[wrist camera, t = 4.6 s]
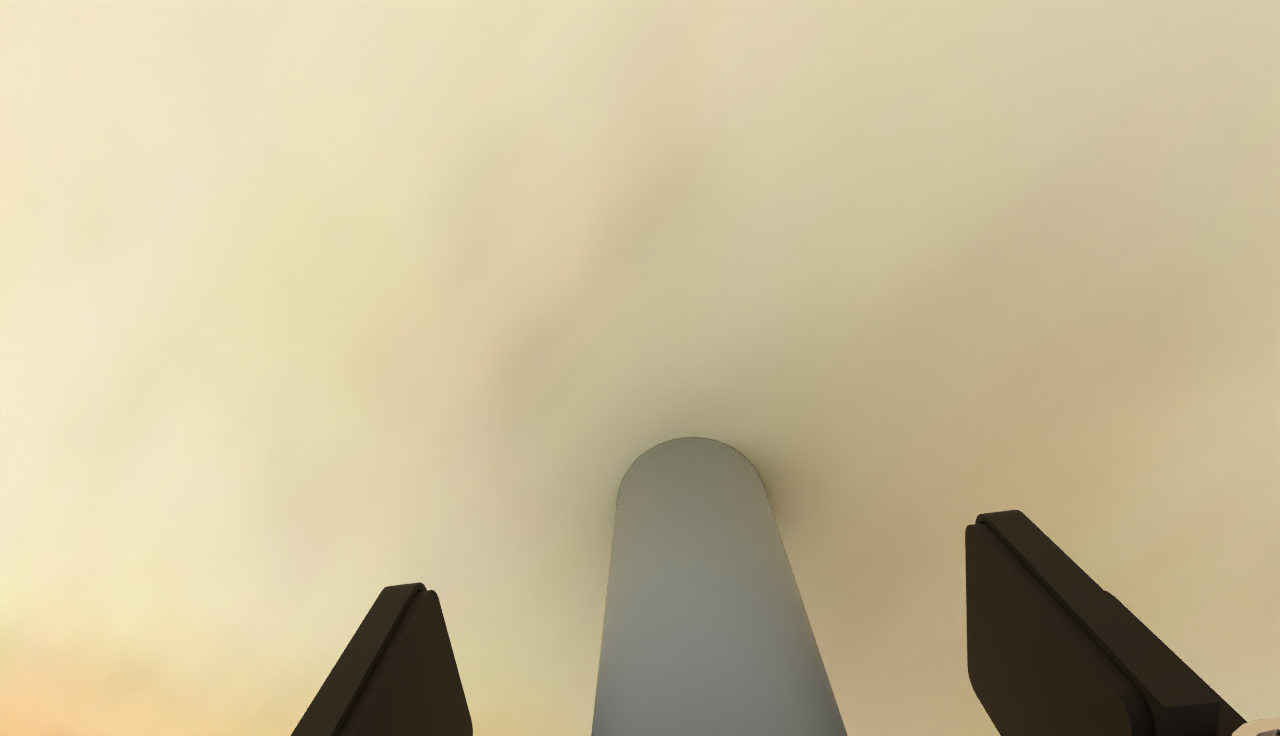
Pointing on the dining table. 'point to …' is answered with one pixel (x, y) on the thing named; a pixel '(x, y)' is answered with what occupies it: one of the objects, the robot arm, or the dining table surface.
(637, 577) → the peg
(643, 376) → the dining table surface
